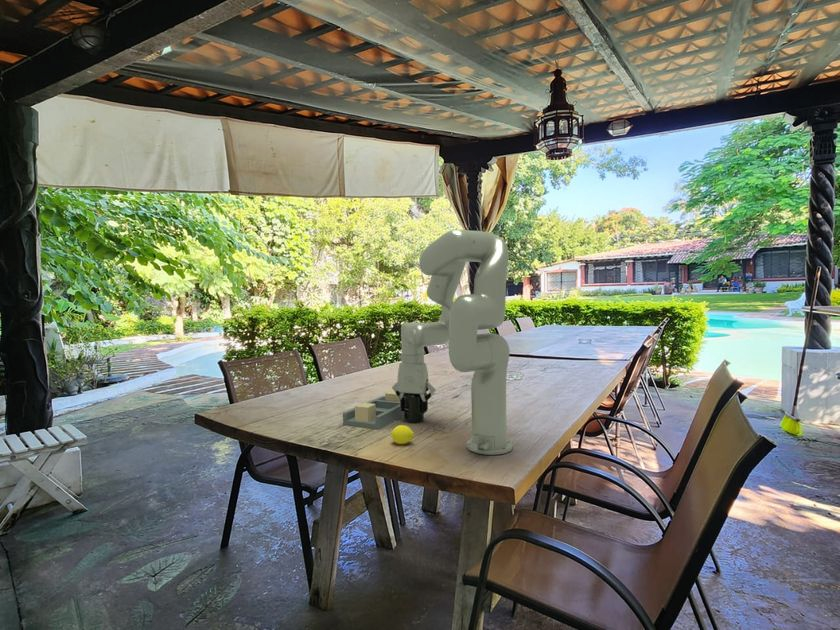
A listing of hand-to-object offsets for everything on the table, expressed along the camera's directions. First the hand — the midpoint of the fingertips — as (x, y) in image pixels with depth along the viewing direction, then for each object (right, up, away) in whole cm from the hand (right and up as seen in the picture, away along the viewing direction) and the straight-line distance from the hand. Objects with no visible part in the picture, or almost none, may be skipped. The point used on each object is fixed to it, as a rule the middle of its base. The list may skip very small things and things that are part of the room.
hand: (414, 410), depth 151 cm
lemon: (-3, -5, -23) cm, 23 cm away
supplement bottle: (0, -4, 0) cm, 4 cm away
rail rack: (-12, -3, +6) cm, 13 cm away
